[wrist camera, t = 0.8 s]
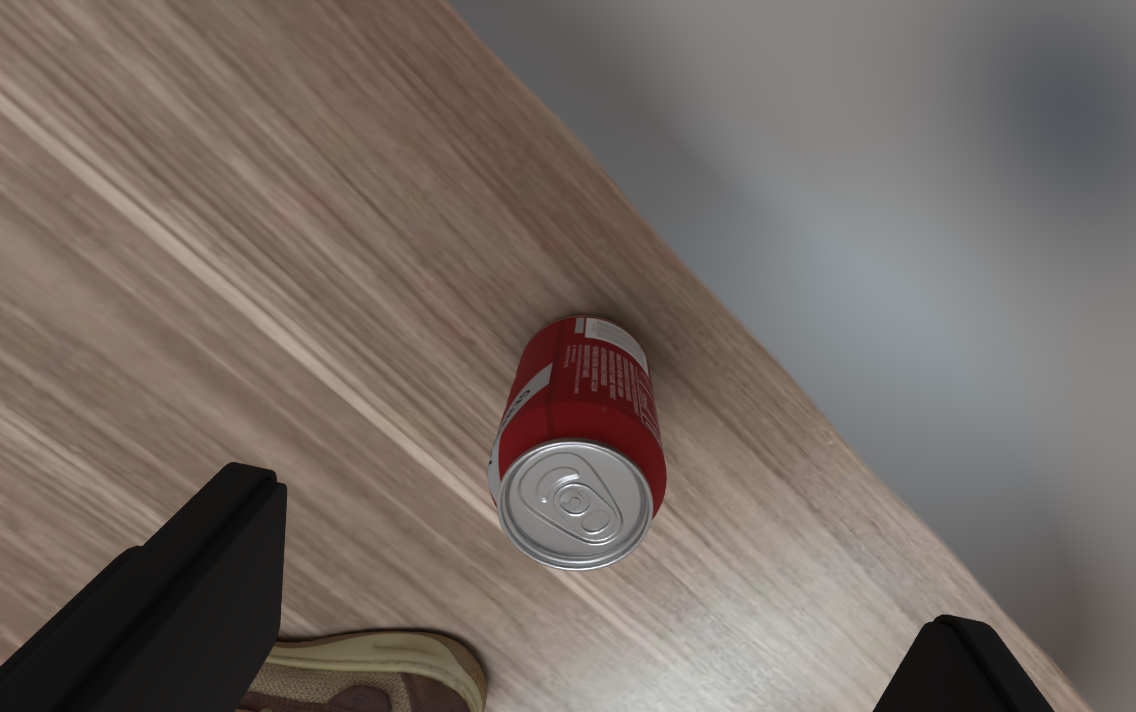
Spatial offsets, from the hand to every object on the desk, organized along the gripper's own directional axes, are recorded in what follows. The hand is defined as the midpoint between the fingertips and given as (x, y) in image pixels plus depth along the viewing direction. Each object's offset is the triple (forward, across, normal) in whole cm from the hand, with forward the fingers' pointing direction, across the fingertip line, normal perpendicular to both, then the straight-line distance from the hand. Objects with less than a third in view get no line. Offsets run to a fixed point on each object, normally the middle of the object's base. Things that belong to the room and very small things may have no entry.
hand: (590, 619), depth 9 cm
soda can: (+23, -1, +6) cm, 24 cm away
